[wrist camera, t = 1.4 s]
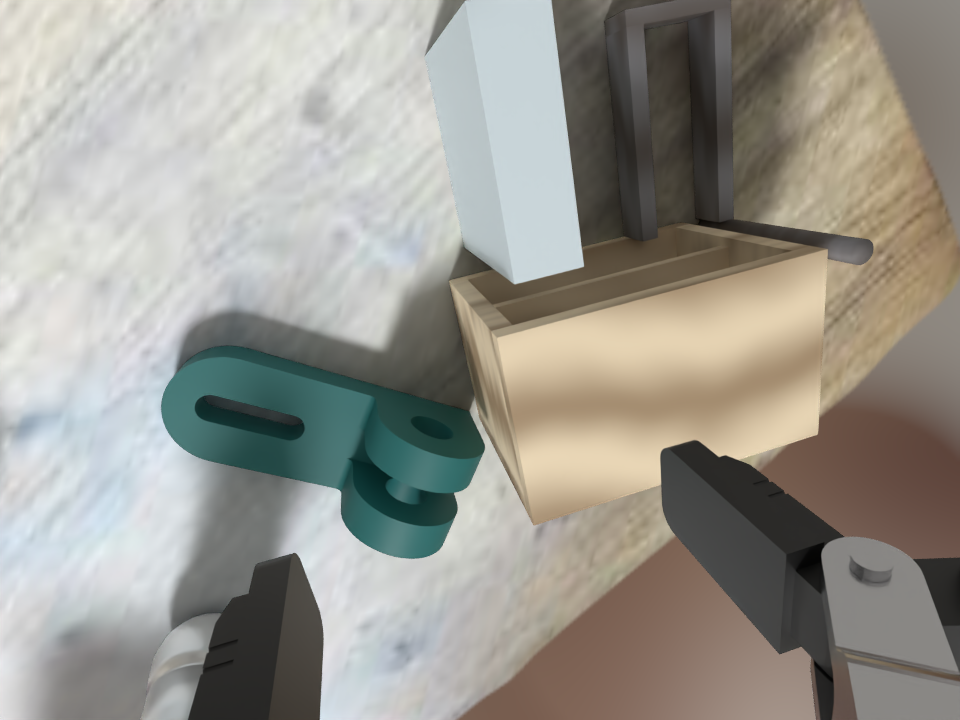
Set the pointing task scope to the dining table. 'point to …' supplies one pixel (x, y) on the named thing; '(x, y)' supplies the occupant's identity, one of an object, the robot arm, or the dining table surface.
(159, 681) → the plastic bottle
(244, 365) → the bracket
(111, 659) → the dining table surface
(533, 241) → the door
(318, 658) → the robot arm
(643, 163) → the wooden caddy
